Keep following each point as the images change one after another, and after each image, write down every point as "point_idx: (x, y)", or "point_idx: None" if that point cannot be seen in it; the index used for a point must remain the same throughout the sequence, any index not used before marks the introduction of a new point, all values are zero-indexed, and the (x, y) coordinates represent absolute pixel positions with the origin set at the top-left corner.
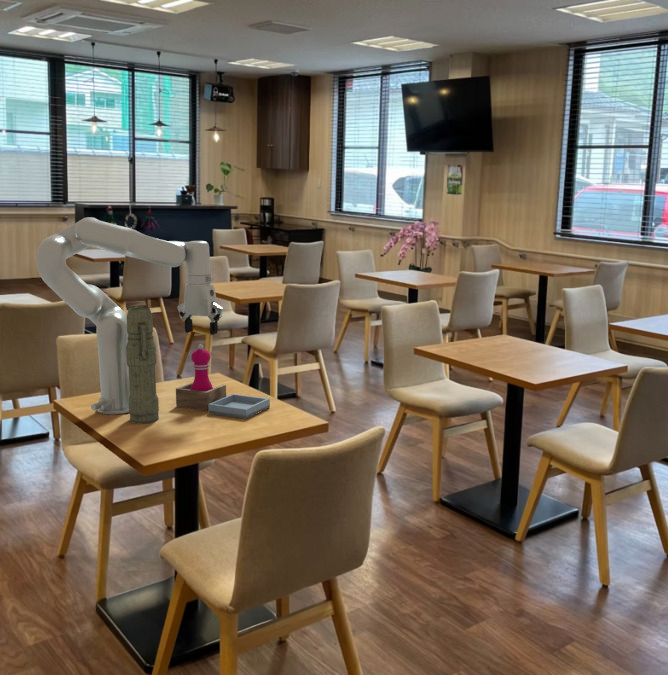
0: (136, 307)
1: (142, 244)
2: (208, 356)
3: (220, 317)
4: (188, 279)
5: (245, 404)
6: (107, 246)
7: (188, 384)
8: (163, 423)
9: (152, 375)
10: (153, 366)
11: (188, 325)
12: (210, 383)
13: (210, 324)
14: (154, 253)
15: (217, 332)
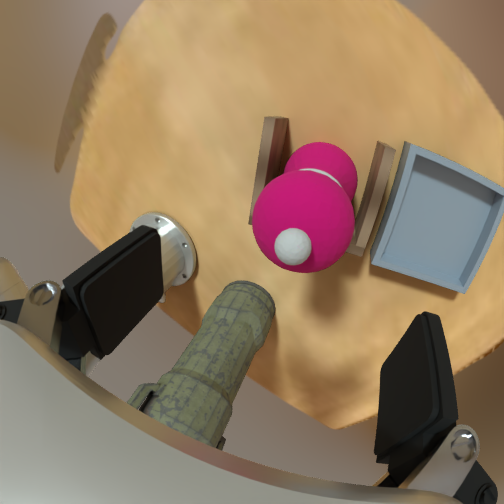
0: None
1: None
2: (351, 237)
3: (484, 479)
4: None
5: (451, 189)
6: None
7: (262, 166)
8: (295, 322)
9: (239, 387)
10: (231, 403)
11: (128, 313)
12: (350, 182)
13: (382, 446)
14: None
15: (438, 317)
